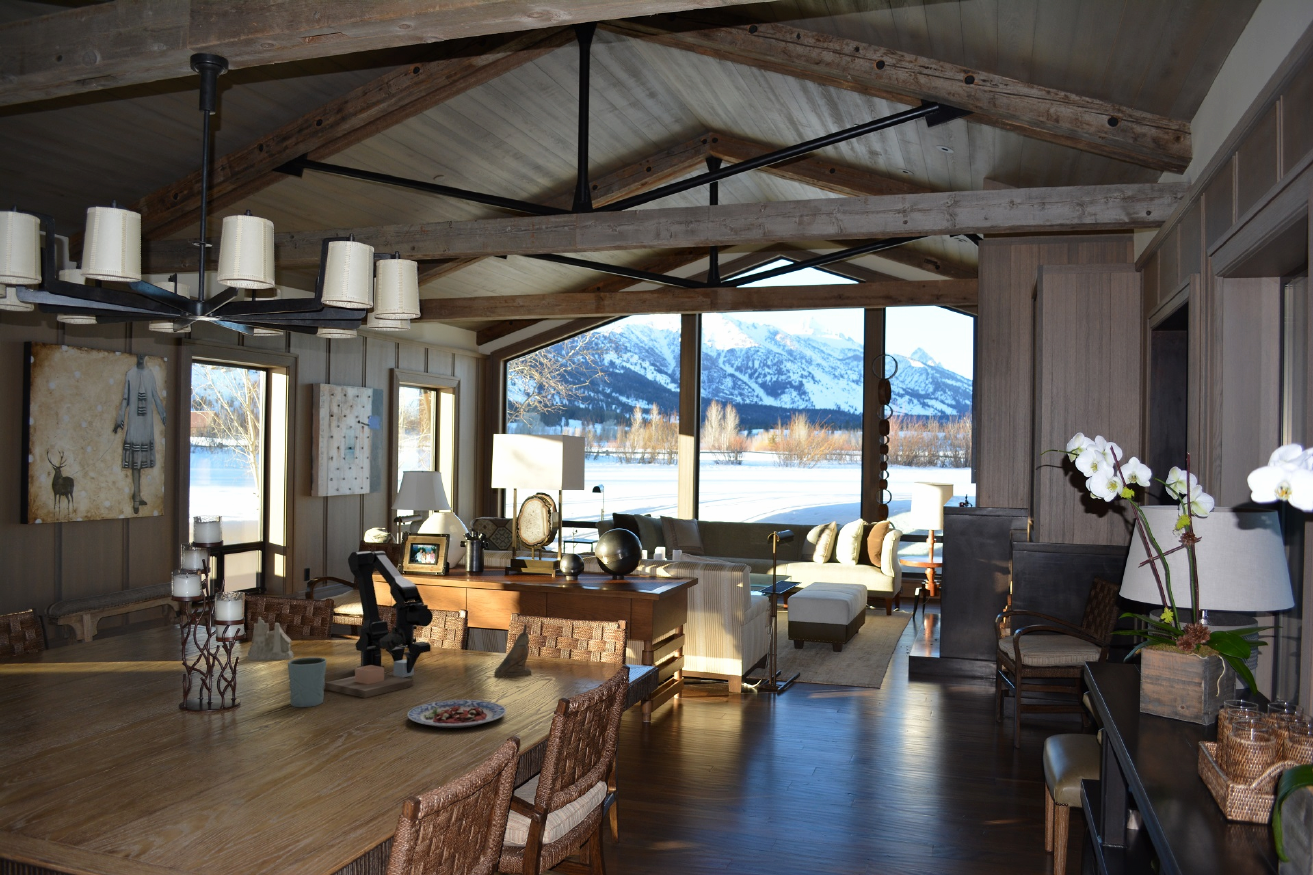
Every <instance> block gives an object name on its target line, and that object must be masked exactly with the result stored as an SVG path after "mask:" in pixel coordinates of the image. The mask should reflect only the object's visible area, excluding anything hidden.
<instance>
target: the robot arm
mask: <svg viewBox="0 0 1313 875" xmlns="http://www.w3.org/2000/svg"><path fill="white" fill-rule="evenodd" d="M347 563H348V566H349V569H350V573H351V574H352V575H353V576H354V577H355V579H356V581H357V585H358V586H357V587H358V590H359V591H358V592H359V598H360V603H361V609H362V614H363V624H362V626H361V628H360V633H361V636H360V637H359V639H358V640H357V641H356V642H355V645H354V646H355V650H356V651H358V652H359V651H360V653H361V654H360V665H358V666H356V668H359V667H363V666H368V665H374V666H379V667H384V668H385V665H382V650H385V652H388V654H390V655H391V658H392V661H393V662H394V661H399V660H404V656H405V658H406V659H405V660H407V673H411V671H412V669H413V667H414V668H415V664H416V662H417V661H418V658H419V657H420V655H421V654H424V653H429V652H431V650H432V647H431V646H432V645H431V643H429V642H428V641H427V642H426V641H417V638H414V634H415V632H414V631H415V630H417V629H418V628H417V626H418V627H423V628H426V627H428V626H429V625H431V623H432V621H433V617H434V615H433V613H432V611H431V610H430V609H429V608H428V607H429V605H428V604H425V602H424V599H423V598H422V596H421V594H420V592H419V588H418V587H417V585H416V584H415V583H414V582H413V581H411V580H410V579H408V578H405V577H404V576H403V575H402V574H401V573H400V572H399V570H398V569H397V568H396V567H395V566H394V564H393V563H392V562H391V560H390V559H389V558H388V556H387V553H386V552H385V551H384V550H376V551H373V550H372V551H370V550H364V551H352V552H351V553H350V555H349V556H348V558H347ZM375 569H376V570H377V572H378V573H379V574H380V575H381V577H382V578H383V579H384V582H386V583H387V585H388V586H389V588H390V589H389V592H390V595H391V597H392V598H393V600H394V602H395V603H394V604H392V606H391V608H392V609H395V626H392V628H391V632H390V630H389V626H388V621H387V620H383V619H382V618H381V617H380V612H379V605H378V601H377V594H376V590H375V584H374V578H373V575H374V573H375ZM405 649H407V652H406V651H405Z"/></svg>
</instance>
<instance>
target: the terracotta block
mask: <svg viewBox="0 0 1313 875" xmlns="http://www.w3.org/2000/svg"><path fill="white" fill-rule="evenodd" d="M354 668H355V669H354V676H355V682H359V683H364V684H371V683H376V682H380V681H384V674H385V666H384V667H379V666H374V665H368V666H363V667H359V668H357V667H354Z"/></svg>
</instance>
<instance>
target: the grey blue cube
mask: <svg viewBox="0 0 1313 875" xmlns="http://www.w3.org/2000/svg"><path fill="white" fill-rule="evenodd" d="M414 670H415V666H414V667H413V669H412V671H411V673H407V659H404V658H403V660H399V661H393V674H392V676H396V677H401V678H406V677H412V676H414V675H415V671H414Z"/></svg>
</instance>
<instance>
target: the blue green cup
mask: <svg viewBox="0 0 1313 875" xmlns="http://www.w3.org/2000/svg"><path fill="white" fill-rule="evenodd" d="M287 668H288V669H287V670H288V677H289V678H288V679H289V691H290V693H289V694H290V695H289V696H290V698H289V699H290V705H291V706H292V707H296V708H310V707H315V706H320V705H322V704H323V702H324V695H325V694H324V689H325V676H326V671H327V670H326V669H327V659H326V658H324V657H319V656H317V657H316V656H315V657H313V656H310V657H300V658H299V657H298V658H295V659H290V660H289V661H288V662H287Z"/></svg>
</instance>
